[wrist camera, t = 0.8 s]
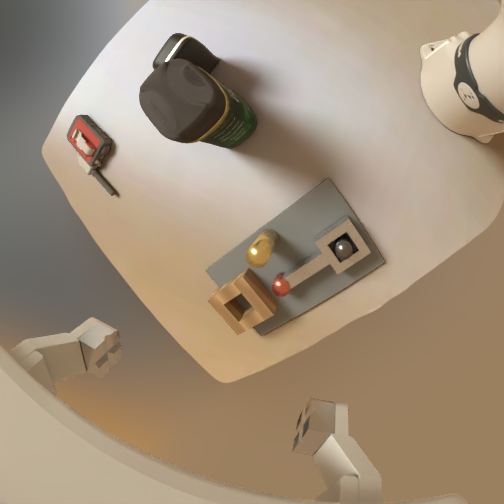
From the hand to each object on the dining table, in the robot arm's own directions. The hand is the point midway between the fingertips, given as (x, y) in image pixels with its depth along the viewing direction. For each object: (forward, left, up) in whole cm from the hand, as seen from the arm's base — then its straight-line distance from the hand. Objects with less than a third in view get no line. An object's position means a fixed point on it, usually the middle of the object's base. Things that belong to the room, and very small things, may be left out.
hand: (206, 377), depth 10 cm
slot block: (+16, +7, -35) cm, 39 cm away
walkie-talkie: (+23, -34, -36) cm, 54 cm away
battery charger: (-3, -28, -35) cm, 45 cm away
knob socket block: (+2, +8, -34) cm, 35 cm away
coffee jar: (-1, -18, -35) cm, 40 cm away
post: (-3, +8, -35) cm, 36 cm away
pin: (+6, +1, -34) cm, 35 cm away
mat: (+6, +7, -35) cm, 36 cm away
